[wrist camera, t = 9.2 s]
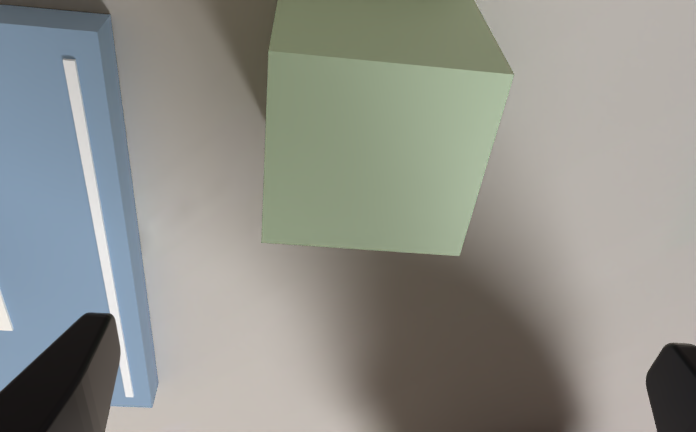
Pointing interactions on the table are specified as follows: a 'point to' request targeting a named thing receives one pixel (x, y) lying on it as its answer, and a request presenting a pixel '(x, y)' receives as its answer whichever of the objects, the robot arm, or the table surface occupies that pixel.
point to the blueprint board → (67, 196)
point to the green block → (379, 123)
